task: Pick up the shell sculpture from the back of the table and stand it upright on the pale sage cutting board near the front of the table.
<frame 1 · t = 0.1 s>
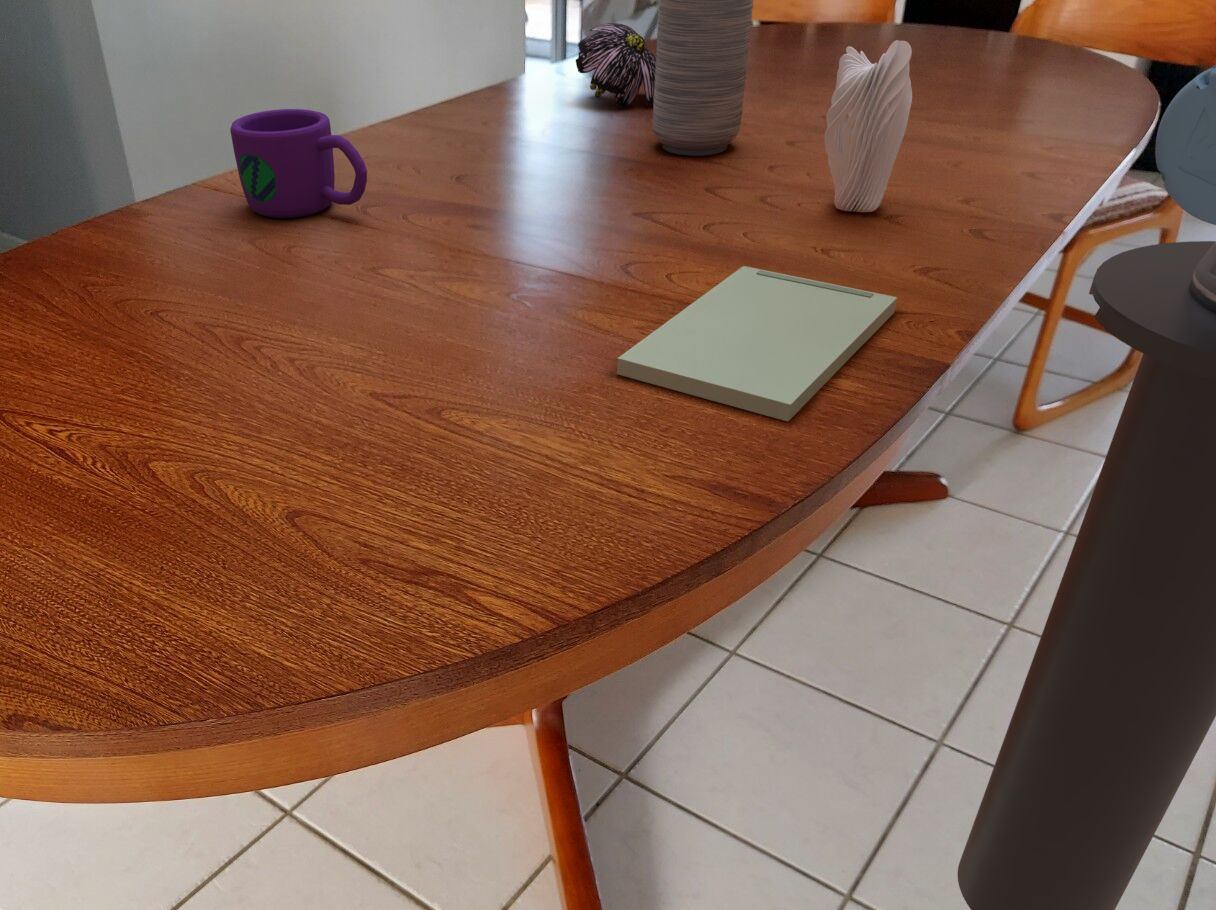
cutting board: (761, 342, 90), on the table
decorative flower: (620, 102, 162), on the table
mug: (312, 212, 123), on the table
vase: (694, 148, 140), on the table
shell sculpture: (852, 210, 118), on the table
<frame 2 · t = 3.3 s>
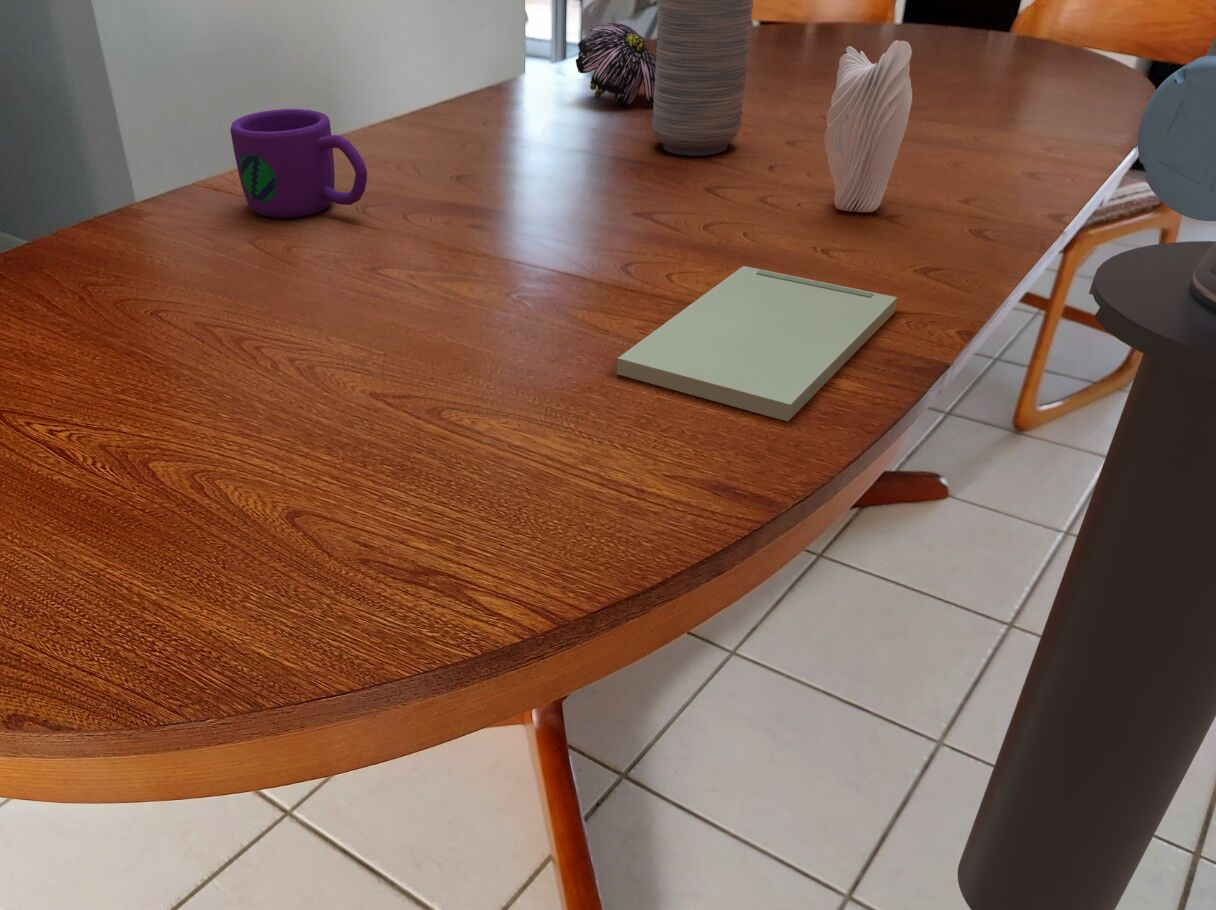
nothing on the table moved.
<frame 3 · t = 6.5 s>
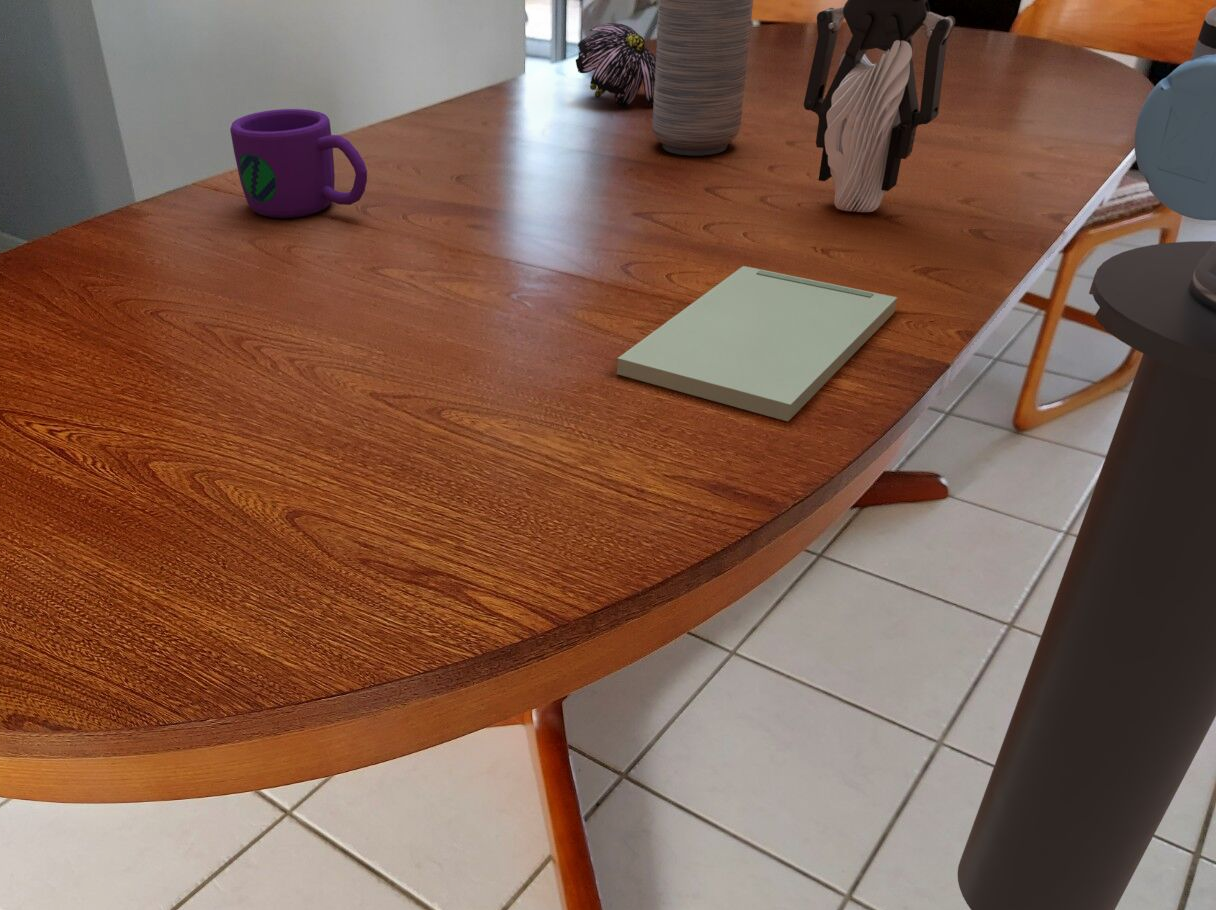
hand: (857, 182, 116), 3 cm above the table, tool pointing down, fingers closed on shell sculpture, 6 cm apart
shell sculpture: (852, 210, 118), on the table, touching gripper
everything else where it was.
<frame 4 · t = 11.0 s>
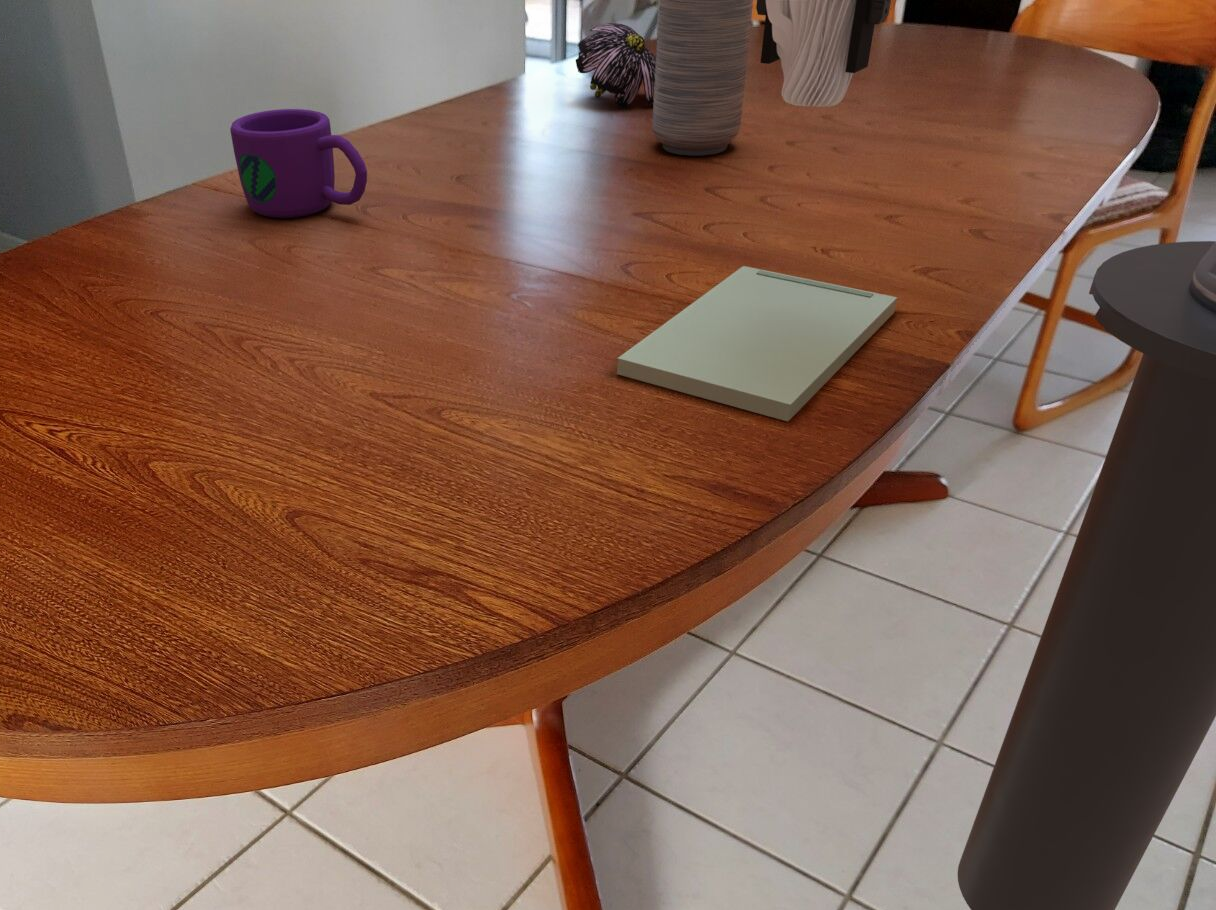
hand: (813, 64, 83), 21 cm above the table, tool pointing down, fingers closed on shell sculpture, 6 cm apart
shell sculpture: (807, 106, 85), point 18 cm above the table, touching gripper
everything else where it was.
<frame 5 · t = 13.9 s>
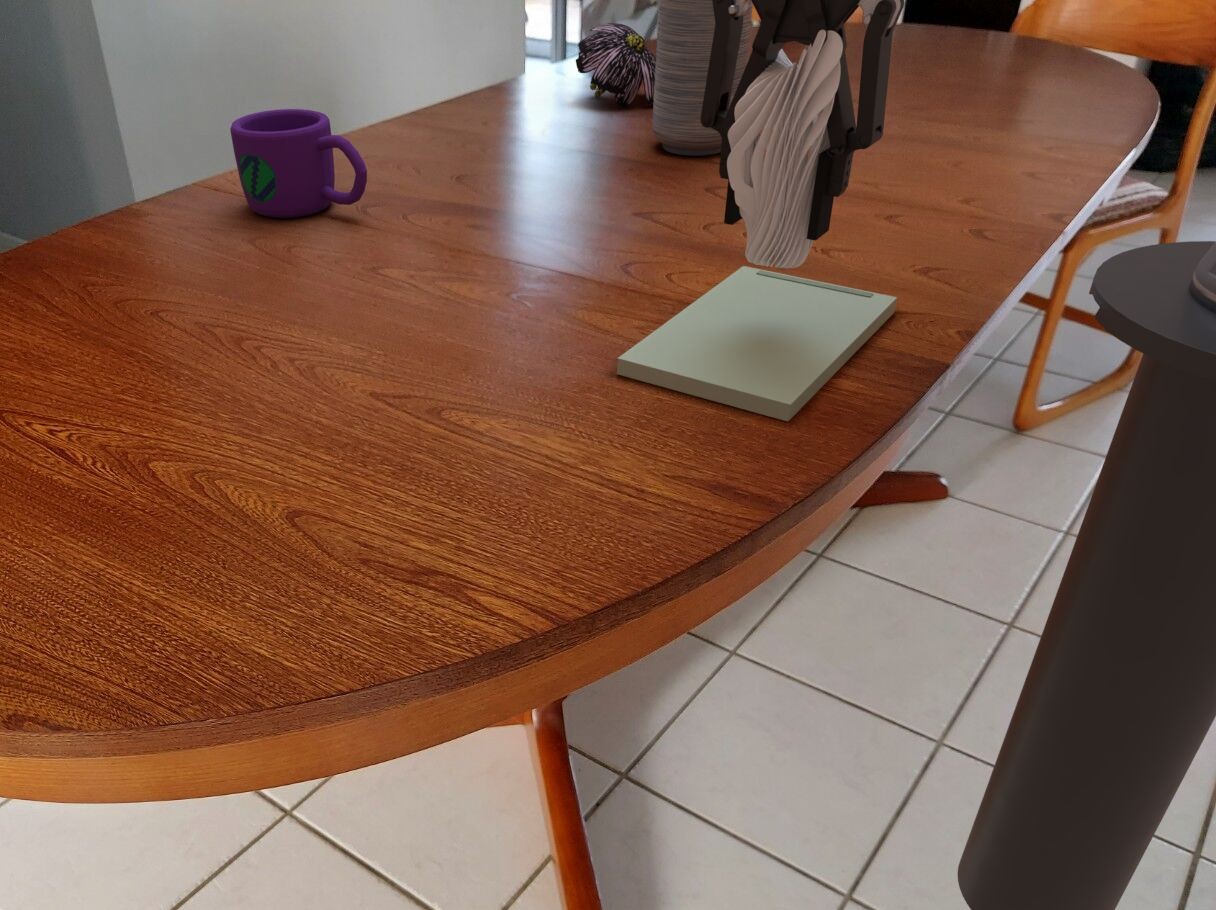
hand: (775, 226, 84), 10 cm above the table, tool pointing down, fingers closed on shell sculpture, 6 cm apart
shell sculpture: (770, 264, 86), point 7 cm above the table, touching gripper
everything else where it was.
when the fingers open (4 cm above the table, at t = 15.7 s): shell sculpture stays where it is, resting on cutting board.
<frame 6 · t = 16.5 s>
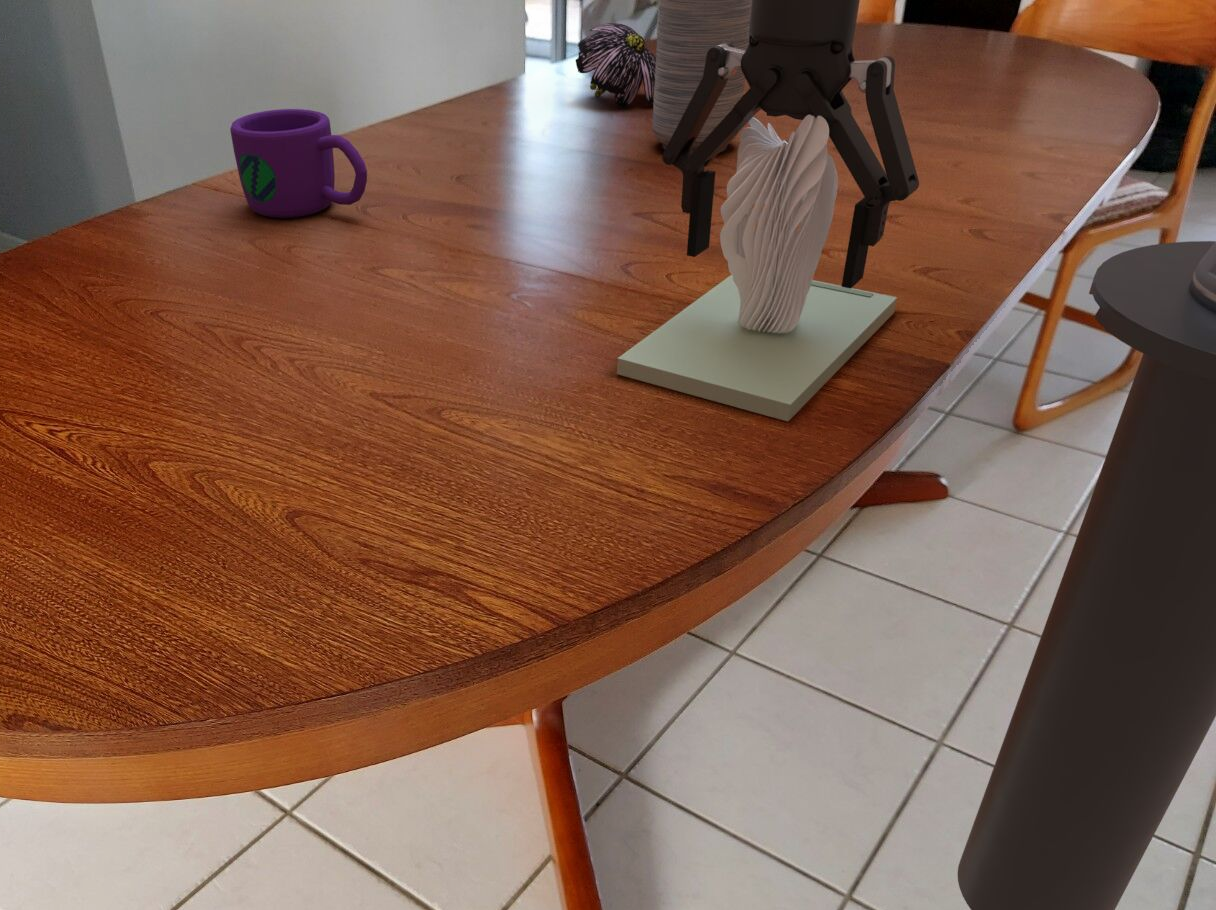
hand: (772, 266, 86), 7 cm above the table, tool pointing down, fingers open, 13 cm apart
shell sculpture: (763, 328, 89), point 1 cm above the table, touching cutting board
everything else where it was.
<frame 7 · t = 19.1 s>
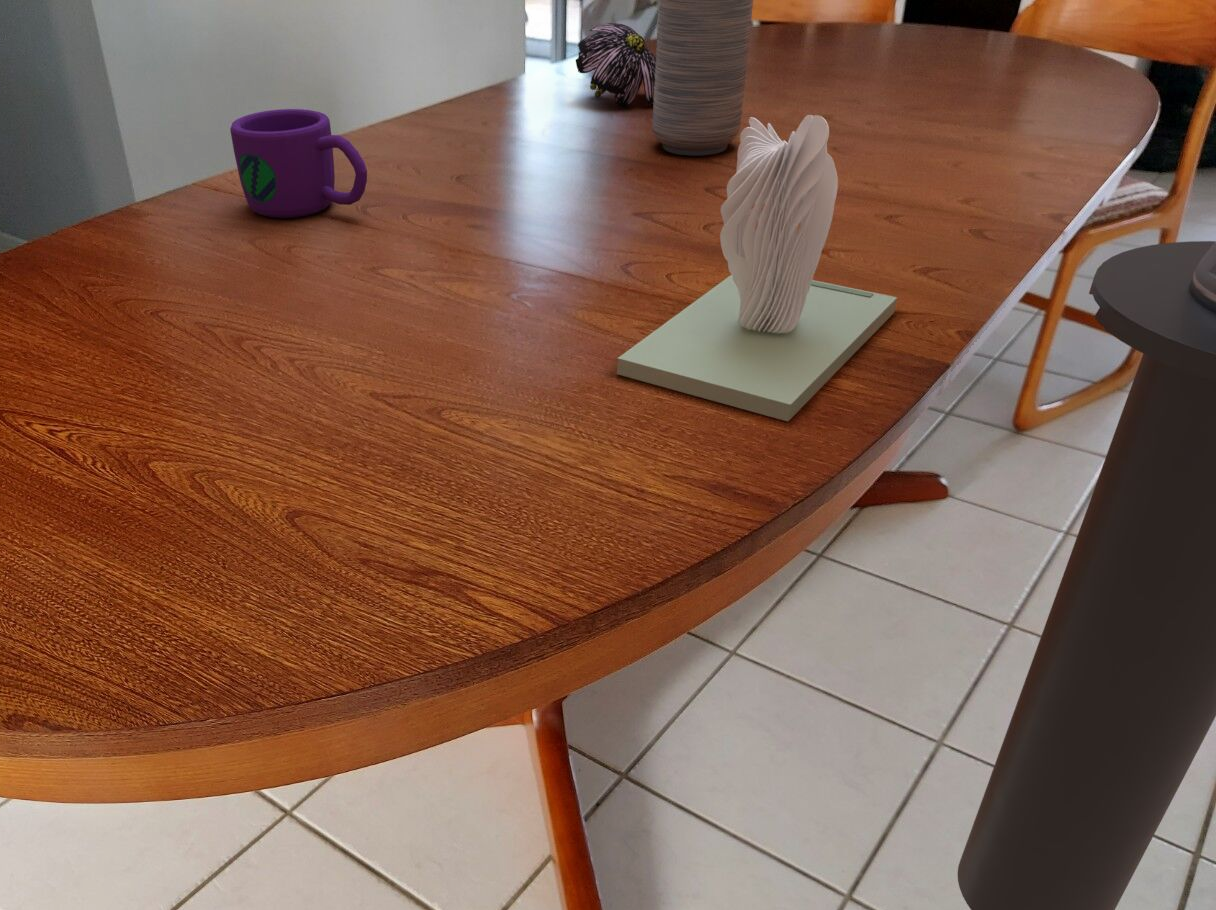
nothing on the table moved.
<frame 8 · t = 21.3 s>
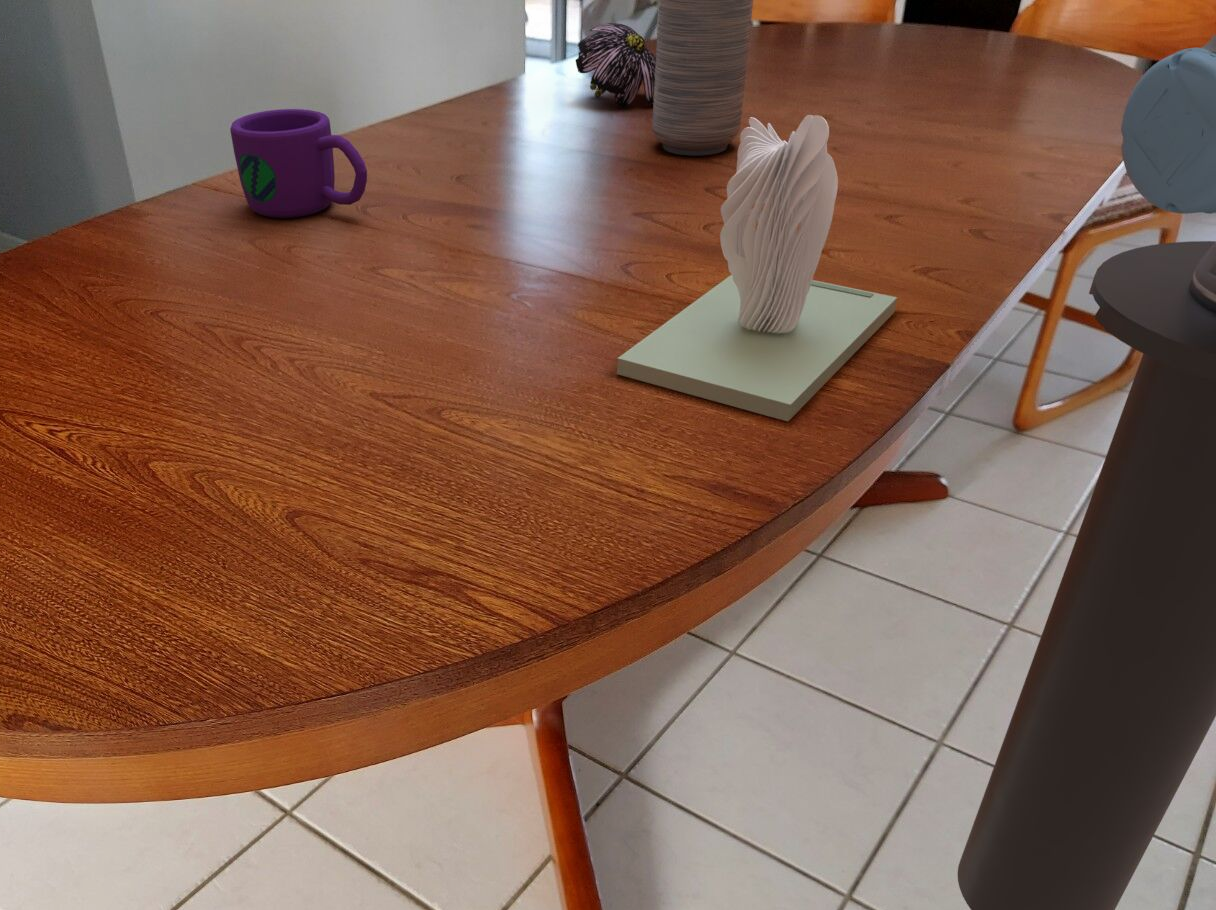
nothing on the table moved.
at the end: shell sculpture inside the target area on the cutting board (0.0 cm from its centre), point 1.3 cm above the cutting board's base; shell sculpture tilted 0° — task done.
